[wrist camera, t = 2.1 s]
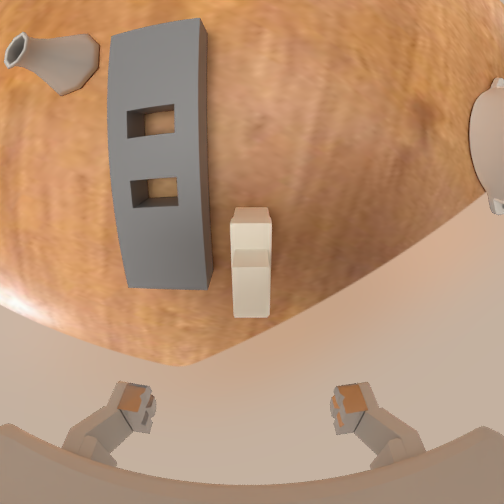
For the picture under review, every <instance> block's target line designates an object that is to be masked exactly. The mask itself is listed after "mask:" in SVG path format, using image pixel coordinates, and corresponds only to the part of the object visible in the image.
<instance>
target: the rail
mask: <svg viewBox="0 0 504 504" xmlns="http://www.w3.org/2000/svg"><path fill="white" fill-rule="evenodd" d="M207 36H208V34H207V32H206V29H205V27H204V25H203V23H202V21H201V19H200V18H194V19H187V20H180V21H174V22H168V23H163V24H158V25H153V26H148V27H144V28H140V29H136V30H132V31H128V32H124V33H121V34H117V35H114V36H111V45H110V56H109V70H108V94H107V124H108V150H109V165H110V177H111V187H112V196H113V204H114V212H115V219H116V226H117V232H118V238H119V244H120V249H121V255H122V260H123V265H124V270H125V274H126V279H127V283H128V288H150V289H182V290H208V287H209V284H210V280H211V277H212V273H213V258H212V243H211V226H210V207H209V184H208V153H207ZM171 110H174V116H175V133H167V134H158V135H150V136H145V126H144V114H149V113H156V112H163V111H171ZM169 177H177V191H178V197H160V198H149V195H148V183H147V179H155V178H169Z"/></svg>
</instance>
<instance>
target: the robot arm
mask: <svg viewBox="0 0 504 504" xmlns="http://www.w3.org/2000/svg"><path fill="white" fill-rule="evenodd" d="M470 149H471V155H472V160H473V164H474V168H475V171H476V173H477V176H478V178H479V180H480V182H481V184H482V186H483V187H484V189H485V190H486V192H487V195H488V199H489V204H490V208H491V211H492V213H494V214H497V215H501V214H504V79H503V78H498V77H496V78H495V79H494V81H493V83H492V85H491V88H490V89H489V90H487V91H485V92H483V93H482V94H481V95H480V96H479V97H478V98H477V100H476V102H475V104H474V106H473V110H472V113H471V119H470ZM151 392H152V390H151V388H150V386H145V385H138V384H133V383H127V382H121V381H119V382H118V383H117V384H116V386H115V388H114V391H113V393H112V395H111V398H110V400H109V402H108V405H107V407H105V406H103V407H102V408H100V409H99V410H98V411H96V412H94V413H93V414H92V415H90V416H89V417H87V418H86V419H84V420H83V421H81V422H79V423H78V424H76V425H75V426H73V427H72V428H71V429H70V430H69V432H68V435H67V437H66V439H65V441H64V444H63V446H62V448H59V447H57V446H54V445H52V444H50V443H48V442H46V441H44V440H41V439H39V438H37V437H35V436H33V435H31V434H29V433H27V432H25V431H24V430H22V429H20V428H18V427H17V426H15V425H13V424H9V423H8V424H4V425H2V426H0V504H504V436H503V435H502V434H500V433H498V432H496V431H494V430H492V429H490V428H488V427H485V426H481V427H479V428H476V429H475V430H473V431H471V432H469V433H467V434H465V435H463V436H461V437H459V438H457V439H455V440H453V441H451V442H448V443H446V444H444V445H442V446H439V447H437V448H435V449H432V450H430V451H427V452H426V450H425V448H424V446H423V443H422V441H421V439H420V436H419V434H418V432H417V431H416V430H414V429H413V428H412V427H410V426H408V425H407V424H406V423H404V422H402V421H401V420H400V419H398V418H397V417H395V416H394V415H392V414H391V413H389V412H388V411H386V410H385V409H383V408H379V406H378V404H377V401H376V399H375V396H374V394H373V392H372V389H371V387H370V384H369V383H368V382H363V383H357V384H356V383H355V384H349V385H342V386H336V387H335V389H334V396H333V397H332V398H331V402H330V410H331V414H332V416H333V417H334V418H335V421H334V427H335V431H336V435H340V434H347V433H353V432H354V434H355V435H356V436H358V438H360V439H361V440H362V441H363V442H364V443H365V444H366V445H367V446H368V447H369V448H370V449H371V450H372V451H374V453H376V454H377V455H378V456H377V457H376V458H375V459H374V461H373V462H372V463H371V464H370V468H371V470H368V471H364V472H360V473H355V474H350V475H345V476H340V477H335V478H329V479H322V480H316V481H308V482H298V483H287V484H272V485H224V484H207V483H197V482H188V481H180V480H173V479H167V478H161V477H156V476H150V475H145V474H141V473H137V472H132V471H128V470H124V469H120V468H117V467H116V465H117V462H116V460H115V459H114V458H113V457H112V456H111V455H110V453H111V452H112V451H113V450H114V449H115V448H116V447H117V446H119V445H120V444H121V443H122V442H123V441H124V440H125V439H126V438H127V437H128V436H129V435H130V434H131V433H132V432H133V431H136V432H142V433H148V434H149V433H150V430H151V426H152V423H153V422H152V420H151V417H153V416H154V415H155V412H156V400H155V397H154V396H153V395H151Z"/></svg>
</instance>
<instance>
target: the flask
mask: <svg viewBox="0 0 504 504" xmlns="http://www.w3.org/2000/svg"><path fill="white" fill-rule="evenodd" d="M98 57H99V45H98V44H97V43H96V42H95V41H94V40H93V38H92V37H91V36H90V35H89V34H79V35H73V36H66V37H58V38H51V39H35V38H31V37H28V35H27V34H26V33H25V32H22V33H21V34H19V35H18V36H16V37H15V38H14V39H13V40H12V42H11V43H10V45H9V46H8V48H7V49H6V52H5V59H4V63H5V65H6V66H7V68H8V69H10V68H13V67H14V66H19V67H24V68H26V69H28V70H30V71H32V72H34V73H36V74H37V75H38V76H39V77H40V78H41V79H43V80H44V81H45V82H46V83H47V84H48V85H49V86H50V87H52V88H53V89H54V90H55V91H56V92H57V93H58V94H59V95H60V96H63V95H65V94H68V93H70V92H73V91H75V90H78V89H80V88H81V87H82V86H83V85H84V84H85V82H86V81H87V80H88V79H89V78H90V77H91V75H92V74H93V73H94V72H95V71H96V70H97V69H98Z"/></svg>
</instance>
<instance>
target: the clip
mask: <svg viewBox="0 0 504 504" xmlns="http://www.w3.org/2000/svg"><path fill="white" fill-rule="evenodd" d="M230 240H231V266H232V290H233V311H234V318H268V316H269V315H270V285H271V246H272V221H271V218H270V216H269V211H268V207H236V208H235V212H234V216H233V218H231V222H230Z"/></svg>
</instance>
